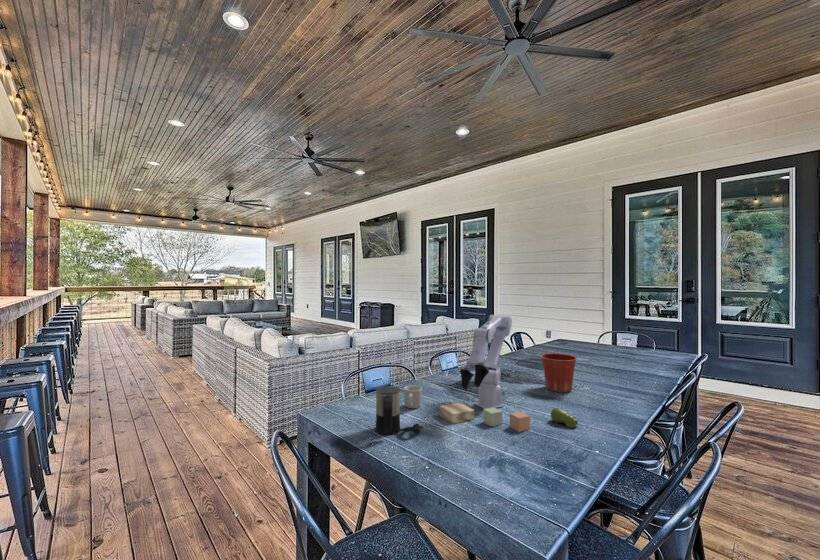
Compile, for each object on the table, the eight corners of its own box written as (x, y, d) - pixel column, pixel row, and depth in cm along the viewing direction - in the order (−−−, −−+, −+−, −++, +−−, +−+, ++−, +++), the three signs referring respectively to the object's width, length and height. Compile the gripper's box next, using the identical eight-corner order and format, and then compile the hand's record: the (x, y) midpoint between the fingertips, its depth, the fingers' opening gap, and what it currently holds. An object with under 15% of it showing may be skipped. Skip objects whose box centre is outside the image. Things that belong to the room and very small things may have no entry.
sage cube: (493, 420, 144) (493, 407, 144) (502, 424, 140) (502, 411, 140) (483, 422, 142) (483, 409, 142) (491, 427, 138) (491, 413, 138)
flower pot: (533, 386, 188) (533, 354, 188) (557, 382, 195) (558, 352, 195) (559, 396, 173) (559, 361, 173) (584, 391, 180) (584, 358, 180)
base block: (460, 412, 154) (460, 402, 154) (474, 420, 145) (474, 410, 144) (439, 415, 149) (439, 405, 149) (452, 424, 140) (452, 414, 140)
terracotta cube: (520, 424, 140) (520, 411, 140) (529, 429, 135) (529, 415, 135) (509, 427, 138) (509, 413, 138) (519, 432, 133) (519, 418, 133)
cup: (419, 413, 151) (419, 393, 151) (400, 411, 153) (400, 392, 153) (423, 404, 162) (423, 385, 162) (405, 402, 163) (405, 384, 163)
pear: (556, 404, 146) (581, 415, 138) (554, 416, 147) (579, 429, 139) (549, 407, 143) (574, 419, 135) (546, 420, 143) (571, 433, 136)
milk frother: (372, 426, 137) (372, 386, 137) (412, 421, 143) (412, 382, 143) (383, 442, 124) (383, 398, 124) (426, 436, 130) (426, 393, 129)
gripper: (459, 353, 154) (450, 384, 146) (482, 346, 142) (474, 379, 135) (472, 361, 156) (464, 392, 148) (496, 355, 144) (488, 388, 137)
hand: (470, 386), depth 142 cm, fingers open, 7 cm apart
